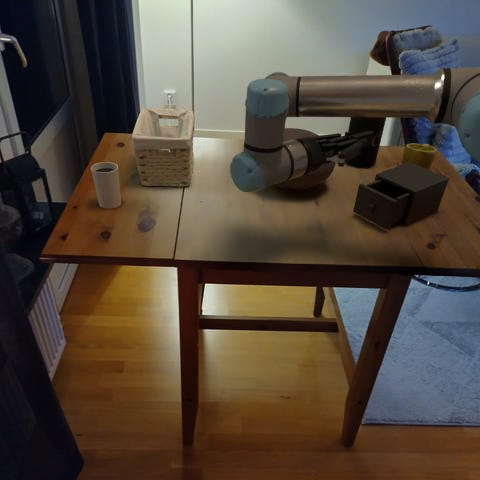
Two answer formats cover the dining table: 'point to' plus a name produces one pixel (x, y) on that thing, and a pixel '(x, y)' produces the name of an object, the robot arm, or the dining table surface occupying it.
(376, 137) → the coffee jar
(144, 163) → the basket
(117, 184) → the white coffee cup
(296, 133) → the flattened ellipsoid
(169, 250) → the dining table surface
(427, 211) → the cabinet
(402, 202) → the drawer
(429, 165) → the mug
